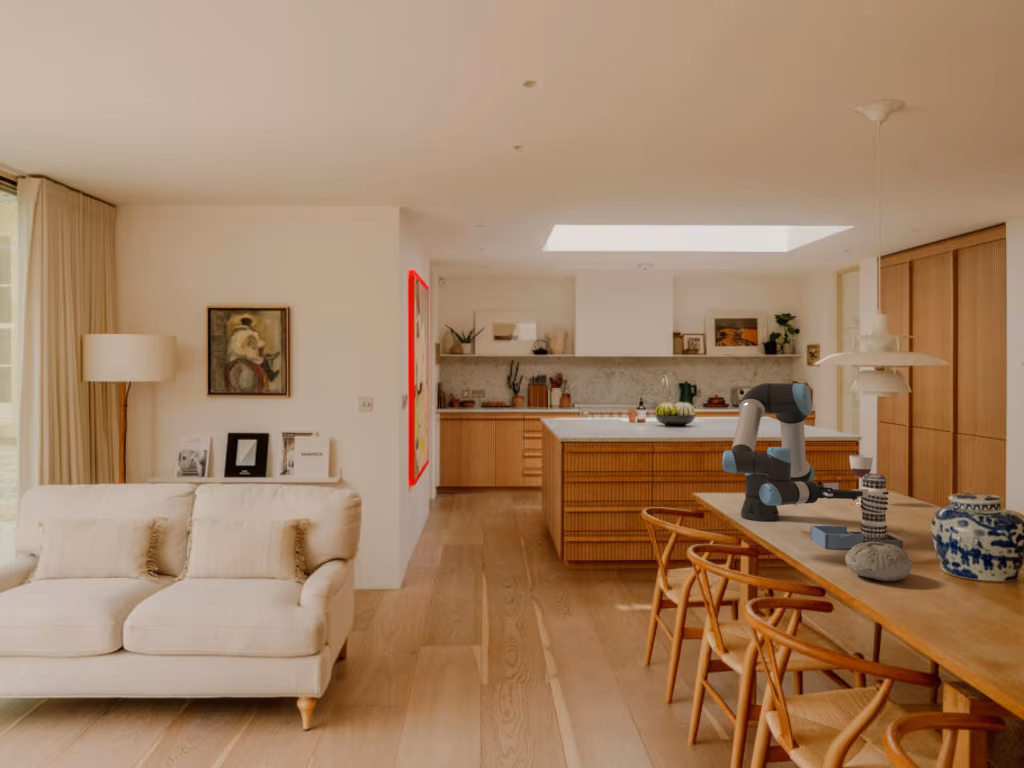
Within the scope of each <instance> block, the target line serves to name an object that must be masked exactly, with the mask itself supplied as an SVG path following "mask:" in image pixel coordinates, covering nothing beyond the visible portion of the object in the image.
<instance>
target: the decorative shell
mask: <svg viewBox="0 0 1024 768" xmlns="http://www.w3.org/2000/svg"><path fill="white" fill-rule="evenodd" d="M844 561H845V564H846V566H847V567H848V568H849V569H850V570H851V572H852V573H854V574H856V575H857V576H861V577H866V578H869V579H870V578H871V579H873V580H877V581H881V582H894V581H895V582H896V581H899V580H903V579H904V578H906V577H908V576H909V574H910V573H911V571H912V563H913V561H912V559H911V558H910V556H909V555H908V552H907V551H905V550H904V549H901V548H900V547H898V546H896V545H893V544H892V545H890V544H885V543H882V542H874V541H872V542H867V543H860V544H857V545H855V546H854V547H852V548H851V549H848V550H847V553H846V554H845V558H844Z"/></svg>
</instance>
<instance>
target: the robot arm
mask: <svg viewBox="0 0 1024 768" xmlns="http://www.w3.org/2000/svg"><path fill="white" fill-rule="evenodd" d="M811 395H812V394H811V390H810V387H809V386H808V385H807V384H805V383H797V382H794V383H777V382H776V383H775V382H774V383H772V382H764V383H760V384H758V385H755V386H753V387H752V388H750V389H749V390H747V392H746V393H744V395H743V396H742V398H741V400H739V404H738V412H739V417H738V421H737V424H736V425H737V426H736V429H735V433H734V438H733V441H732V446H731V449H729V450H725V451H723V453H722V469H723V471H724V472H726V473H734V474H744V476H745V489H744V490H745V496H744V500H743V504H742V506H741V510H740V517H741V516H742V517H741V518H743V517H744V518H743V519H746V518H747V519H746V520H750V519H751V521H757V520H759V521H758V522H771V521H777V520H779V519H780V512H779V509H778V506H779V507H780V506H789V505H793V506H798V504H799V505H803V504H807V505H808V504H814V503H816V502H817V501H818V500H819V499H828V500H830V499H832V500H833V499H837V500H839V499H841V500H843V499H844V500H845V499H846V500H852V501H855V500H857V499H858V498H859V497H868V489H860V488H858V489H857V488H856V489H839V487H840V486H839V484H840V482H828V483H827V482H826V483H825V482H824V483H823V482H822V481H817V482H814V477H815V468H814V467H813V466H811V465H810V462H808V461H807V458H806V454H807V453H806V436H805V434H806V433H805V421H806V420H807V419H808V416H809V415H811V414H812V411H813V402H812V396H811ZM766 414H769V415H770V414H771V415H775V419H777V421H779V423H780V435H781V446H769V447H768V448H767V450H766V451H765V452H764V451H762V452H761V451H755V449H756V444H757V439H758V435H759V429H760V424H761V420H762V418H763V417H764V416H765V415H766Z"/></svg>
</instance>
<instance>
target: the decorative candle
mask: <svg viewBox="0 0 1024 768" xmlns="http://www.w3.org/2000/svg"><path fill="white" fill-rule="evenodd" d="M887 481H888V478H886V477H885V476H884V475H883V474H881V473H871V472H870V473H869V474H866V475H865V476H863V477H862V489H868V497H861V501H860V503H861V506H859V507H860V508H861V509H860V511H861V515H862V516H861V523H860V526H861V527H860V531H862V532H861V533H860V534H863V539H864V540H886V538H887V535H886V534H885V533H888V530H887V529H888V526H887V520H886V519H887V517H886V516H887V515H886V514H888V511H887V510H889V509H888V507H887V505H888V504H889V502H888V500H889V498H888V497H887V496H888V495H889V494H890V492H889V491H887V489H888V488H887Z"/></svg>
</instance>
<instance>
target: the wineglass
mask: <svg viewBox="0 0 1024 768" xmlns="http://www.w3.org/2000/svg"><path fill="white" fill-rule="evenodd" d="M873 459H874V458H873V456H872V455H866V454H865V455H864V454H850V455H849V465H850V470H851V472H852V474H854V475H855V476H858V477H859V489H862V486H863V479H862V478H863V477H864V476H865V475H866V474H870V473H871V471H872V466H873ZM858 500H859V502H857V501H855V502H856V504H861V503H860V501H861V500H862V499H861V497H859V499H858Z"/></svg>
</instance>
